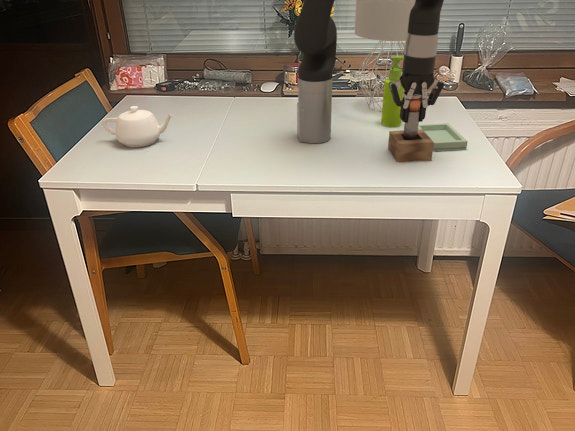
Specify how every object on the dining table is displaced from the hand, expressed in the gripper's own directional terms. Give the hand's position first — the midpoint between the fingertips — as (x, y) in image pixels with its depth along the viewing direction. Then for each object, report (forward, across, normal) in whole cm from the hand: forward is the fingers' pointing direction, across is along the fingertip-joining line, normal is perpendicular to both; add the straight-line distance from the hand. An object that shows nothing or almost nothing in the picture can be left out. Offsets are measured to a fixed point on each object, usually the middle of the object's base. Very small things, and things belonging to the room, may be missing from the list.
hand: (412, 120), depth 136 cm
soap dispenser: (+10, +2, +23) cm, 25 cm away
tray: (+9, +11, +8) cm, 17 cm away
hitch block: (+9, 0, 0) cm, 9 cm away
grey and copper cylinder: (+7, 0, 0) cm, 7 cm away
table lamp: (+10, +4, +39) cm, 40 cm away
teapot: (+10, -72, +19) cm, 75 cm away
